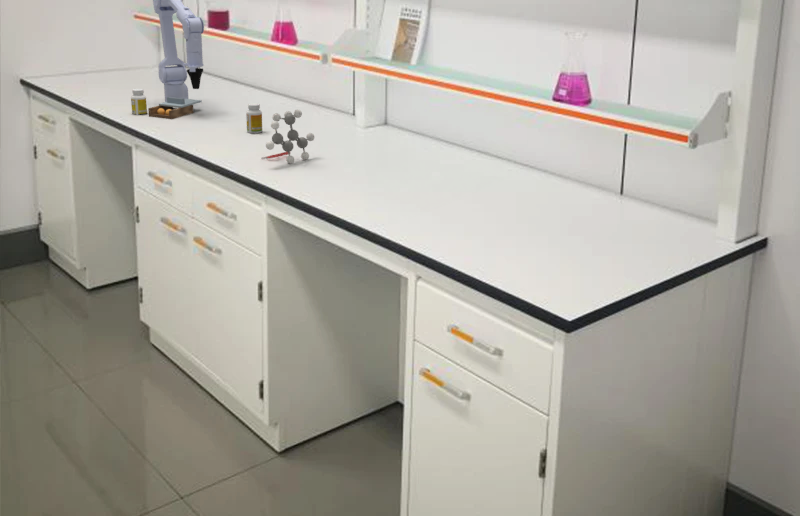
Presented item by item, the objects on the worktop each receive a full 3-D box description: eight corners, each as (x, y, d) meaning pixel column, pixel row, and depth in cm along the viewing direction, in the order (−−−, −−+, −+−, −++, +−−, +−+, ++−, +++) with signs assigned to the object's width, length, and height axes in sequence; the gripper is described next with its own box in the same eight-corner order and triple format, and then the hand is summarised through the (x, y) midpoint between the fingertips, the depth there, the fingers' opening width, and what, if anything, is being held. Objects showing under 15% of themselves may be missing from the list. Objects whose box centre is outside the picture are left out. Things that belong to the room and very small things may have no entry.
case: (171, 112, 343) (170, 102, 342) (193, 114, 340) (193, 104, 338) (149, 118, 331) (148, 108, 329) (171, 121, 327) (171, 110, 326)
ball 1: (160, 114, 334) (159, 107, 333) (166, 115, 333) (166, 108, 332) (155, 116, 331) (155, 108, 331) (162, 116, 331) (161, 109, 330)
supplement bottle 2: (265, 131, 316) (264, 104, 313) (256, 134, 312) (255, 106, 308) (253, 129, 318) (252, 102, 315) (243, 132, 314) (242, 104, 311)
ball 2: (168, 115, 333) (168, 108, 332) (174, 116, 332) (174, 108, 331) (164, 117, 330) (163, 109, 329) (170, 117, 329) (170, 110, 328)
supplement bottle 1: (149, 114, 337) (147, 88, 334) (144, 117, 332) (142, 91, 329) (135, 114, 338) (133, 88, 334) (130, 116, 333) (128, 90, 329)
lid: (180, 99, 347) (179, 92, 346) (201, 101, 344) (201, 95, 343) (158, 105, 335) (158, 98, 334) (181, 107, 332) (180, 100, 331)
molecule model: (293, 159, 290) (284, 111, 287) (328, 155, 280) (318, 105, 277) (248, 171, 275) (237, 120, 272) (283, 167, 265) (272, 114, 262)
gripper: (186, 48, 335) (187, 85, 340) (180, 53, 322) (182, 91, 326) (205, 49, 336) (206, 85, 340) (200, 54, 322) (201, 92, 327)
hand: (196, 88), depth 333 cm, fingers closed
